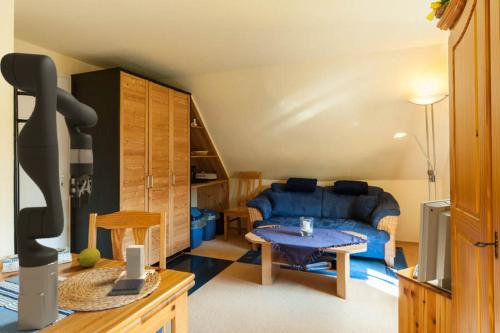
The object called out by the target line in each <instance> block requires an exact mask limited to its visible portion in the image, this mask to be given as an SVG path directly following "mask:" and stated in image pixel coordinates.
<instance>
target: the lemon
mask: <svg viewBox="0 0 500 333" xmlns="http://www.w3.org/2000/svg"><path fill="white" fill-rule="evenodd" d="M100 259H101V253H100V250H98V249H97V248H95V247H87V248H85V249H83V250H81V252H80V253H79V254H78V255H77V258H76V262H77V263H78V265H80V266H82V267H84V268H85V267H87V268H88V267H92V266H94V265H96V264H97V263H98V262H99V261H100Z"/></svg>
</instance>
